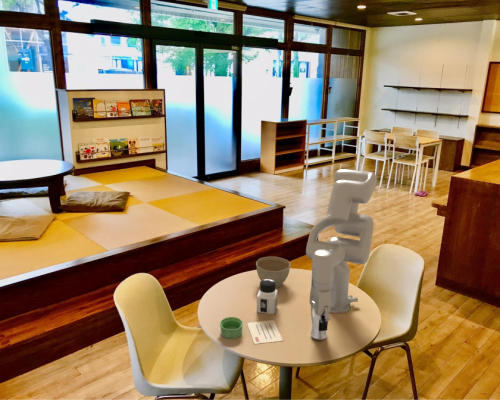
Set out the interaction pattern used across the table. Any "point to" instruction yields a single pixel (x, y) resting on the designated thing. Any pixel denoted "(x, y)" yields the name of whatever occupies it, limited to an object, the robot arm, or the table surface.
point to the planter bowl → (273, 269)
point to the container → (267, 297)
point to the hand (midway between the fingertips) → (319, 324)
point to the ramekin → (231, 327)
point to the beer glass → (316, 324)
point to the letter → (264, 332)
